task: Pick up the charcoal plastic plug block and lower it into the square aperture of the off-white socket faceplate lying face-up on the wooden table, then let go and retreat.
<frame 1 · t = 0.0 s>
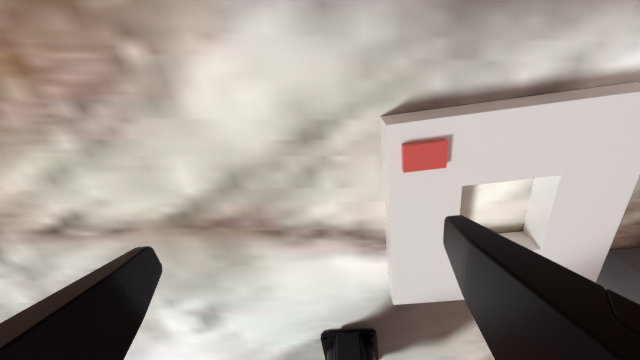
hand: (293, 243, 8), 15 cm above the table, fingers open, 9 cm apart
socket plate: (487, 203, 24), on the table
plug: (625, 265, 27), on the table
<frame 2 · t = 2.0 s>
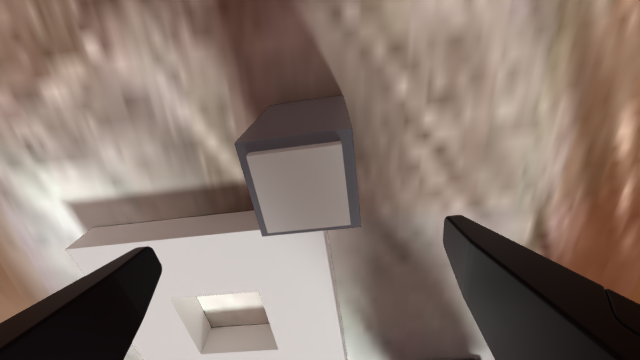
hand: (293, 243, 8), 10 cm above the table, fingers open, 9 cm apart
socket plate: (236, 299, 24), on the table
plug: (311, 135, 18), on the table
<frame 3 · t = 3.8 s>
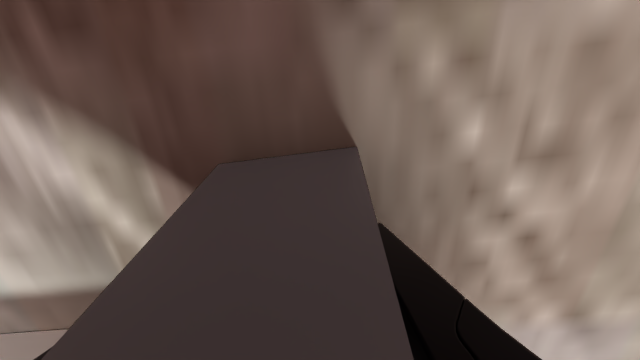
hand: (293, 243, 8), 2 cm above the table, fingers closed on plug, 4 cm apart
plug: (298, 214, 10), on the table, touching gripper
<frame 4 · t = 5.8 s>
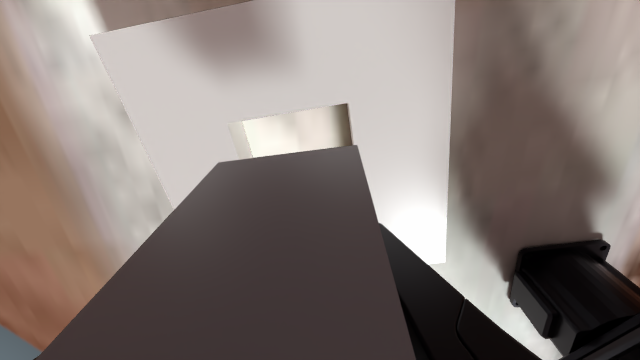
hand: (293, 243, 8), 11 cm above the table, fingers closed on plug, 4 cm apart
socket plate: (302, 154, 19), on the table
plug: (298, 213, 10), point 10 cm above the table, touching gripper
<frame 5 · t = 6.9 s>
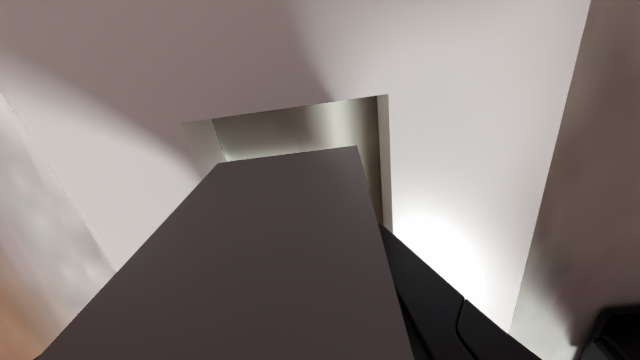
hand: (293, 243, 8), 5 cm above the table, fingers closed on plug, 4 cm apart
socket plate: (304, 172, 13), on the table
plug: (298, 213, 10), point 3 cm above the table, touching gripper
when the fingers open (3 cm above the table, at t = 7.9 s): plug drops 2 cm, resting in socket plate.
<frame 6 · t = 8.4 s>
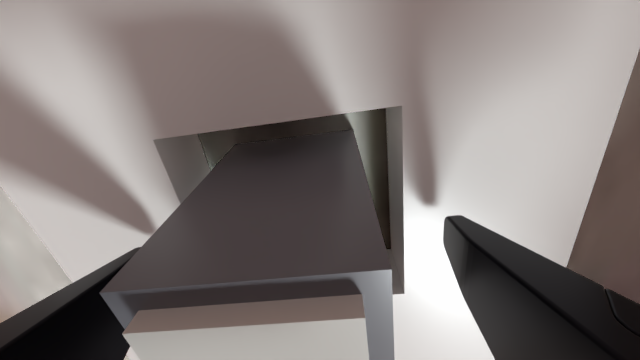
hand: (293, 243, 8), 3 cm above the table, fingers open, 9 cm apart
socket plate: (302, 190, 11), on the table
plug: (303, 189, 11), resting in socket plate
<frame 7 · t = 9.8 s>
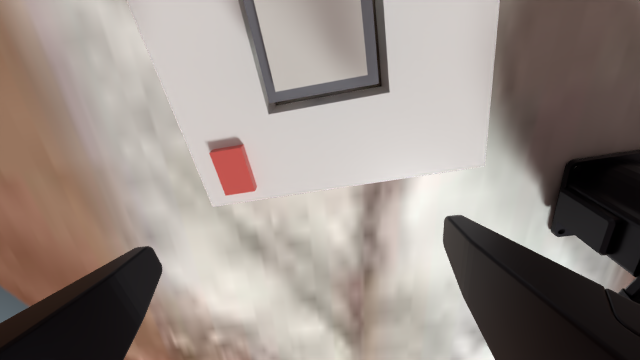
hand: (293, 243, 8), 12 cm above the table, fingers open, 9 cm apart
socket plate: (317, 36, 16), on the table
plug: (318, 35, 16), resting in socket plate
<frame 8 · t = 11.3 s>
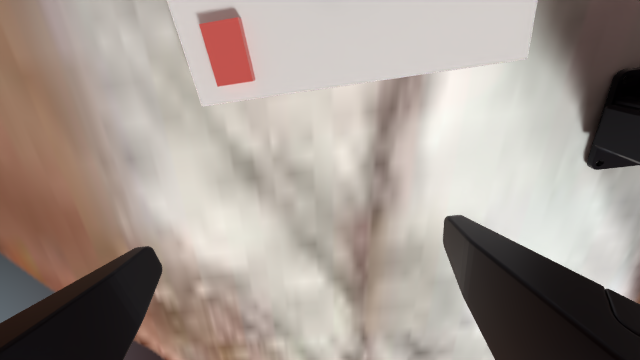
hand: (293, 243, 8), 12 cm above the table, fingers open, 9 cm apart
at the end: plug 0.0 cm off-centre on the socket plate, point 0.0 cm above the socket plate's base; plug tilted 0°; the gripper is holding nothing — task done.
